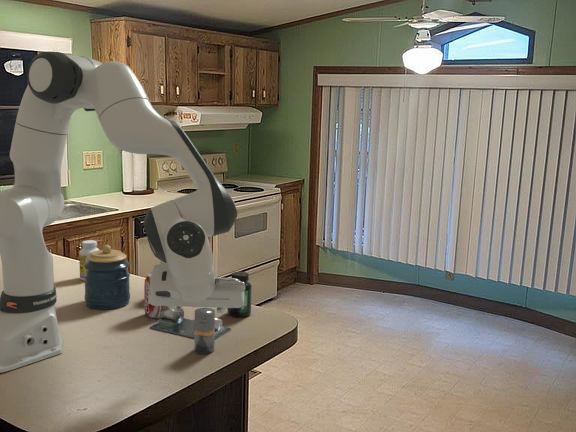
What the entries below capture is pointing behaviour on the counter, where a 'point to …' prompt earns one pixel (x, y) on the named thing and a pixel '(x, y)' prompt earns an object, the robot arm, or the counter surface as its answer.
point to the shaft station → (183, 324)
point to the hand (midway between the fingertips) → (199, 309)
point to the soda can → (149, 309)
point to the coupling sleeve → (204, 330)
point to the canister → (107, 279)
